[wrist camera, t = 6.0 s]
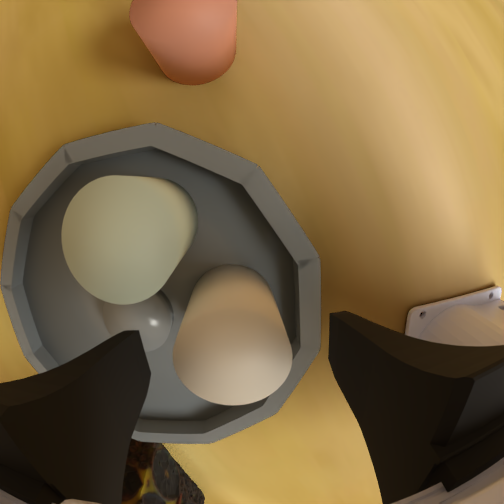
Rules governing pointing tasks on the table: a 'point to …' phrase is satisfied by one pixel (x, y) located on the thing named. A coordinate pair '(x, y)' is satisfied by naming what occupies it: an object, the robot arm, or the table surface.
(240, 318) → the bead
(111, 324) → the groove tray
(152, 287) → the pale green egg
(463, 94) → the table surface
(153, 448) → the yellow black patterned cube
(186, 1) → the bead
